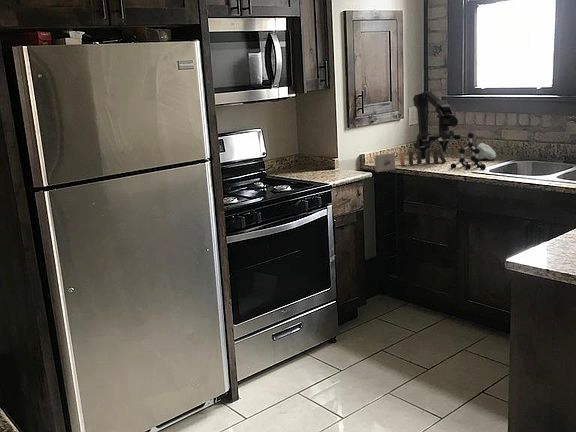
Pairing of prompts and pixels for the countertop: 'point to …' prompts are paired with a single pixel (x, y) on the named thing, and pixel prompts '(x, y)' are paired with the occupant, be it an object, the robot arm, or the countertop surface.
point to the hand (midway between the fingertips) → (443, 151)
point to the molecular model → (473, 158)
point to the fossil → (384, 162)
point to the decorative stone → (486, 152)
